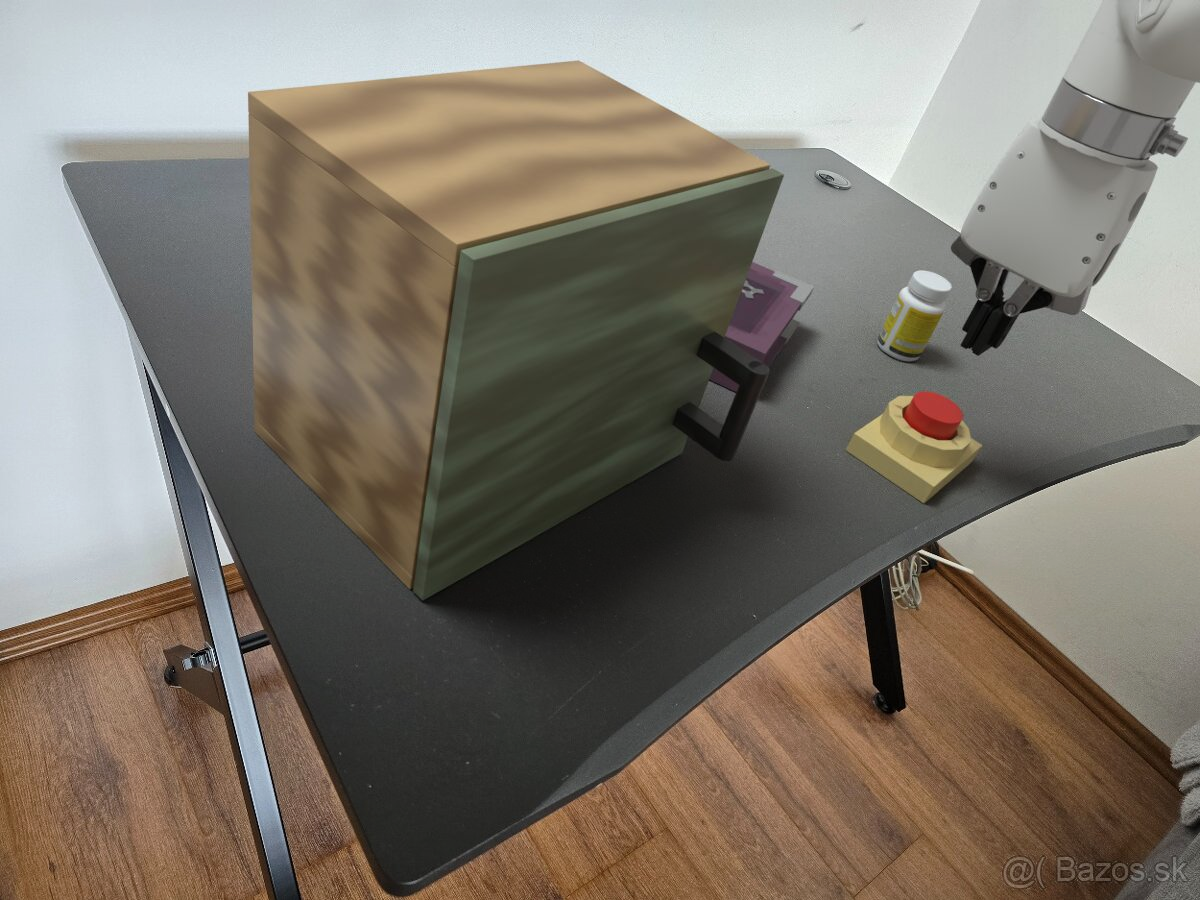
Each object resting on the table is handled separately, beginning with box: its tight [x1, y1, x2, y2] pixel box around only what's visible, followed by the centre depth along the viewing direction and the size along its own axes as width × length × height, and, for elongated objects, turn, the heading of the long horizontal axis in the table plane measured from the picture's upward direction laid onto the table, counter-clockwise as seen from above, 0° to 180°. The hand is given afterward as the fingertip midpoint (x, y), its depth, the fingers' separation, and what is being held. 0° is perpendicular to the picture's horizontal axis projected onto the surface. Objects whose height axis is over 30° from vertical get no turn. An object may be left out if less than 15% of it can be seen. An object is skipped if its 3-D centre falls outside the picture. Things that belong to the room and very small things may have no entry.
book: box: [709, 261, 815, 393], centre depth 90 cm, size 25×16×5 cm, turn 64°
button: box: [904, 390, 964, 440], centre depth 79 cm, size 4×4×2 cm
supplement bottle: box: [876, 269, 953, 362], centre depth 94 cm, size 5×5×8 cm
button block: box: [845, 395, 983, 504], centre depth 80 cm, size 10×8×4 cm
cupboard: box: [247, 60, 771, 590], centre depth 62 cm, size 18×26×24 cm
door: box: [412, 168, 785, 601], centre depth 57 cm, size 6×26×24 cm, turn 137°
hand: (976, 346), depth 74 cm, fingers closed
